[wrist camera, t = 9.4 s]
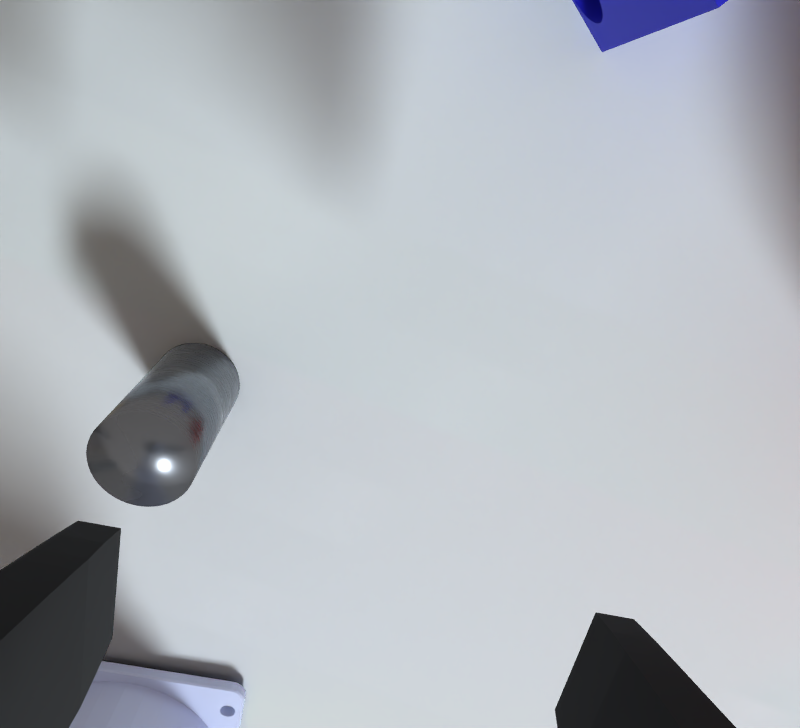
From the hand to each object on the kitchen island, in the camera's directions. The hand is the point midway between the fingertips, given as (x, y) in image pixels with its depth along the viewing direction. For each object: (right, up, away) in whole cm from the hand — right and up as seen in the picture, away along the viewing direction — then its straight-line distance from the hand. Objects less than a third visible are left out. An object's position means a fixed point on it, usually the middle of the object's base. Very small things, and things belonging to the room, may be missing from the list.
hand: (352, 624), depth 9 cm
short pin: (-5, +3, +9) cm, 11 cm away
